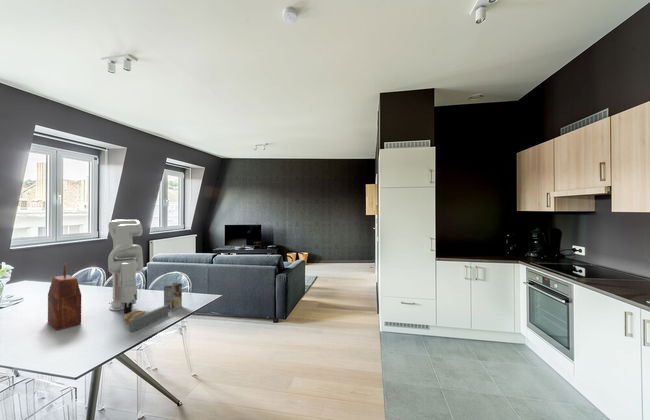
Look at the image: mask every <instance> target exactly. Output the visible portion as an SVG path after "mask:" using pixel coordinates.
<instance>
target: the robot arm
mask: <svg viewBox="0 0 650 420" xmlns="http://www.w3.org/2000/svg"><path fill="white" fill-rule="evenodd" d="M107 227H108V232H109V234H110V236H111V238H112V241H113V243H112V245H113V248H112V250H111V252H110V253H109V255H108V259H107V267H108V272H109V273H110V274H112V275H111V276H112V300H110V301H109V303H108V304H109V305H111V306H110V307H109V310H110V311H116V312H117V311H122V310H123V314H124V315H125V314H127V313H130V312H132V307H133V306H134V305H135V304H137V300H138V288H137V284H136V283H137V282H136V280H137V277H136V276H137V274H138V273H142V272H143V270H144V255H143V254H144V253H143V248H142V246H141V245H140V244H134V242H133V237H141V236H142V235H143V231H144V230H143V225H142V223H141V221H139V220H138V219H114V220H110V221H109V222H108V226H107Z"/></svg>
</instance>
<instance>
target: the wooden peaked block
mask: <svg viewBox="0 0 650 420" xmlns="http://www.w3.org/2000/svg"><path fill="white" fill-rule="evenodd" d="M66 269H67V267H66V263H63V273H62V274H63V275H57V276H56V275H55V276H54V277H52V279H51V283H50V286H49V290H48V292H47V323H48V324H49V325H50V326H51V327H52V328H53V329H54V330H55V331H59V330H62V329H65V328H70V327H72V326H73V327H74V326H77V325H81V324H82V293H81V289H80V285H79V283H78V278H76V277H74V276H71V275H69V274H67V270H66Z"/></svg>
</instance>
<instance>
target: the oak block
mask: <svg viewBox="0 0 650 420" xmlns="http://www.w3.org/2000/svg"><path fill="white" fill-rule="evenodd" d="M144 314H146V313H145V310H136V309H134V310H133V311H132V310H131V312H130V313H127V314H124V315H123V323H124V324H130V321H131V320H133V319H135V318H138V317H140V316H142V315H144Z"/></svg>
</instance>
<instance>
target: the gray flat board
mask: <svg viewBox="0 0 650 420" xmlns="http://www.w3.org/2000/svg"><path fill="white" fill-rule="evenodd" d="M168 315H169V311H168V305H164V304H163V305H162V306H161V307H158V308H155V309H153V310H151V311H148V312H147V313H145V314H144V315H142V316H140V317H138V318H135V319H133V320H131V321H130V323H129V328H130V329H129V332H130V333H134V332H136V331H139V330H140V329H142V328H145V327H146V326H148V325H150V324H152V323H154V322H157V321H158V320H160V319H162V318H164V317H166V316H168Z"/></svg>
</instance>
